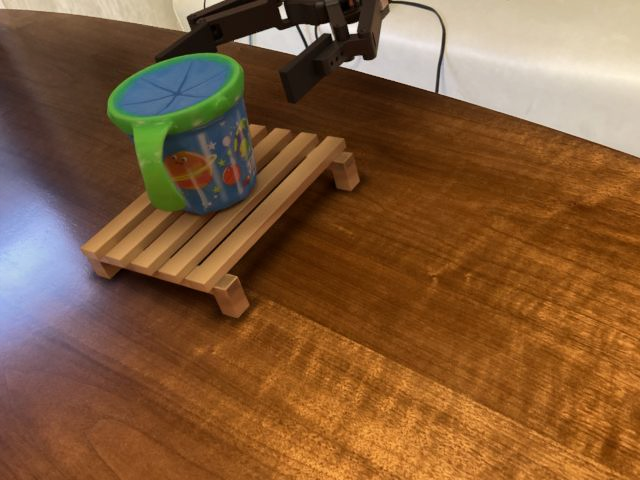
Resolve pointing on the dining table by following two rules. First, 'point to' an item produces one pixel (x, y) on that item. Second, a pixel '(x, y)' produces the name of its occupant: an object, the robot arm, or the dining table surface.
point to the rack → (219, 220)
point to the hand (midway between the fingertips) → (221, 79)
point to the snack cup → (188, 131)
